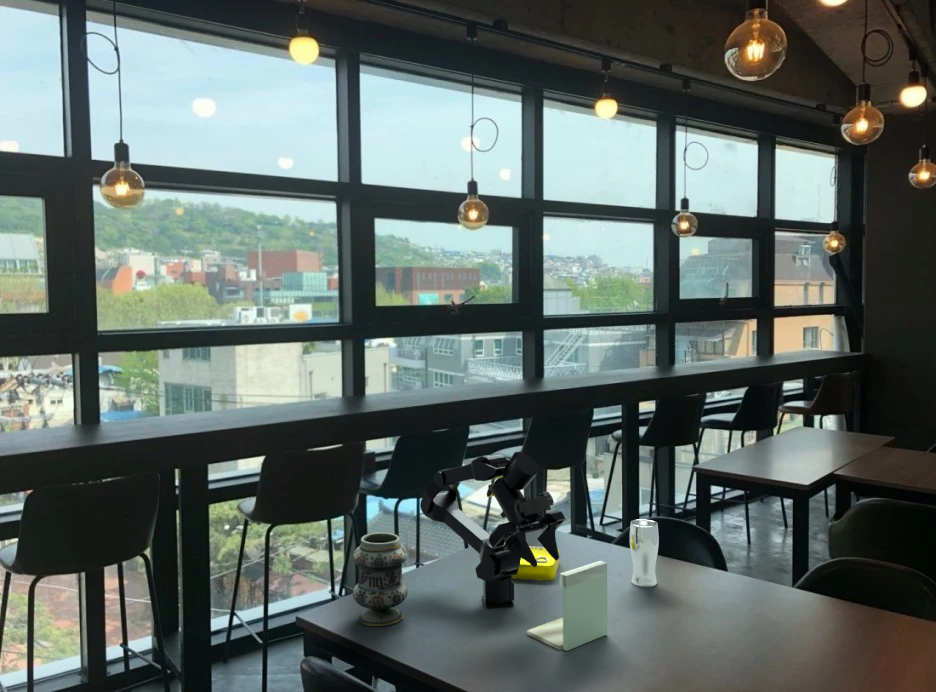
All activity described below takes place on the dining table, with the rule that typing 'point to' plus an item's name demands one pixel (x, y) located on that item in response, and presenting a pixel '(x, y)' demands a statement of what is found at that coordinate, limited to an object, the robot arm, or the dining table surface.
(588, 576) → the panel
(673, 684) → the dining table surface
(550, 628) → the plate
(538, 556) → the element tile
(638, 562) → the beer glass
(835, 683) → the dining table surface
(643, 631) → the dining table surface
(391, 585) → the apothecary jar
